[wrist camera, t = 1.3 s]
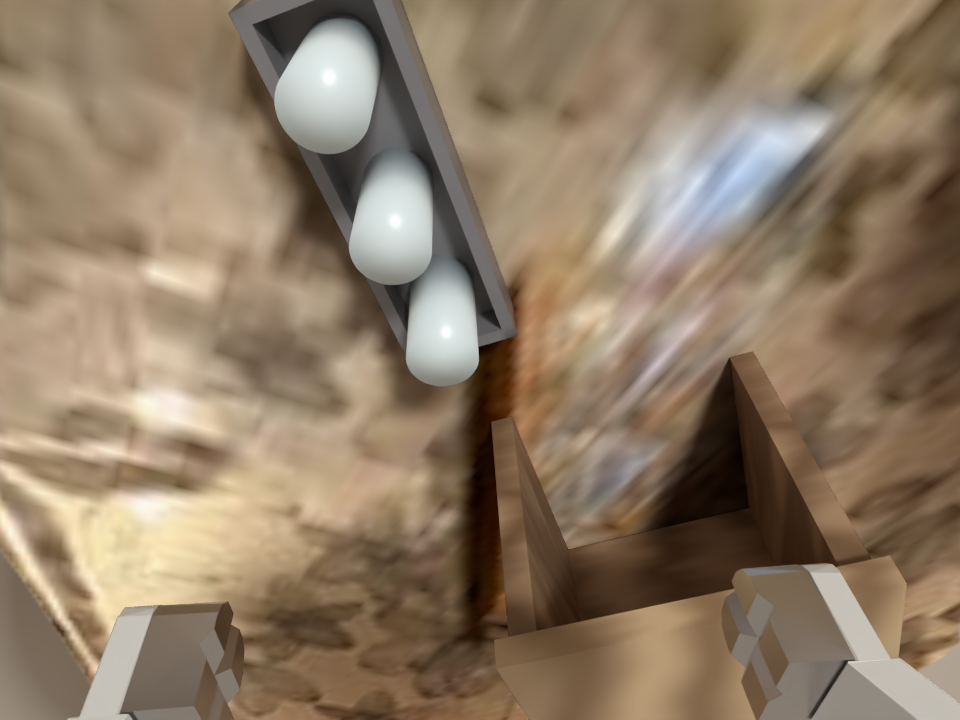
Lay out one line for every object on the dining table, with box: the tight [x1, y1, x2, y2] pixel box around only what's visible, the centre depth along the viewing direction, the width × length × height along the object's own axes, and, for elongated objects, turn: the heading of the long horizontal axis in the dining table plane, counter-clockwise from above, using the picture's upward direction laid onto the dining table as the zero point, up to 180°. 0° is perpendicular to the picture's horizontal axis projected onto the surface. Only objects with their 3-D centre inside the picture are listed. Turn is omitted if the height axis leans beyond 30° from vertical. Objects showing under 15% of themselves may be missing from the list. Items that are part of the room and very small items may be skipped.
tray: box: [228, 0, 517, 386], centre depth 33 cm, size 6×20×8 cm, turn 18°
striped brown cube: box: [491, 352, 907, 720], centre depth 44 cm, size 19×19×18 cm
